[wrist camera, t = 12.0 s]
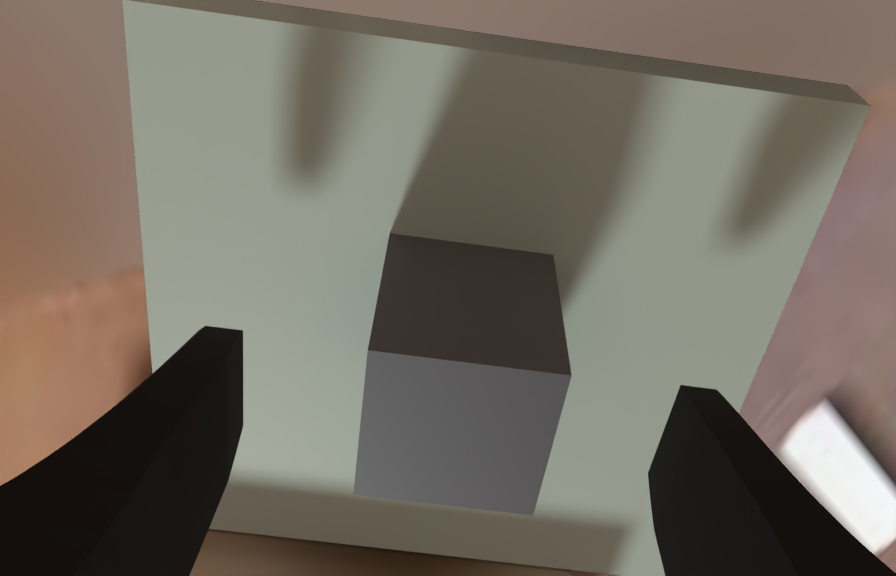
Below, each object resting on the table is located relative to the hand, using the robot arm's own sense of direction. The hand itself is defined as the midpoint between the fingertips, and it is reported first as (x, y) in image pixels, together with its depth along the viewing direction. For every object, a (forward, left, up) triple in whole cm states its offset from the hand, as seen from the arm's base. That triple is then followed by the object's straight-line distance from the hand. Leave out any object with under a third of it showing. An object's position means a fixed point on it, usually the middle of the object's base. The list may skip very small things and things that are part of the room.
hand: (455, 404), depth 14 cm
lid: (0, +1, -5) cm, 5 cm away
